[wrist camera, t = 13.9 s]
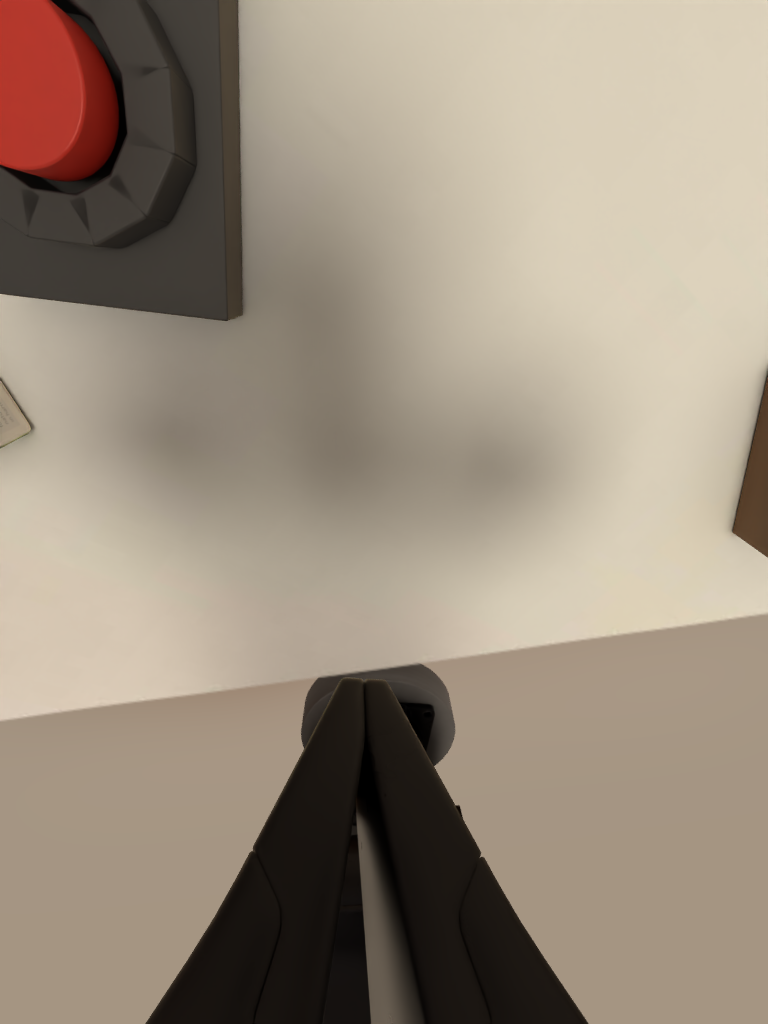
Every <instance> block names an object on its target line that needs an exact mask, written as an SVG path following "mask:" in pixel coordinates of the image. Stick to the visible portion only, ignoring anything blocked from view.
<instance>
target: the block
mask: <svg viewBox="0 0 768 1024" xmlns="http://www.w3.org/2000/svg"><path fill="white" fill-rule="evenodd" d="M51 1H52V2H53V3H55V4H56V5H57V6H58V7H59V8H60V9H61V10H63V11H64V12H65V13H66V14H67V15H68V16H70V17H71V18H72V19H73V20H74V21H75V22H76V23H77V24H78V25H79V26H80V27H81V28H82V29H83V30H84V31H85V32H86V34H87V35H88V36H89V37H90V38H91V40H92V41H93V43H94V44H95V45H96V47H97V48H98V50H99V52H100V54H101V55H102V57H103V59H104V61H105V63H106V65H107V67H108V69H109V72H110V74H111V77H112V80H113V83H114V86H115V90H116V94H117V100H118V106H119V129H118V135H117V140H116V143H115V146H114V149H113V151H112V153H111V155H110V157H109V158H108V160H107V161H106V163H105V164H104V165H103V166H102V167H101V168H100V169H99V170H98V171H97V172H95V173H94V174H92V175H91V176H89V177H86V178H84V179H81V180H77V181H69V182H64V181H55V180H50V179H46V178H43V177H39V176H36V175H32V174H29V173H25V172H22V171H18V170H15V169H12V168H8V167H5V166H2V165H0V294H5V295H13V296H22V297H30V298H38V299H47V300H55V301H63V302H72V303H80V304H88V305H97V306H105V307H113V308H122V309H130V310H138V311H147V312H155V313H163V314H172V315H180V316H188V317H197V318H205V319H213V320H222V321H228V320H231V319H234V318H236V317H239V316H242V252H241V187H240V123H239V58H238V0H51Z"/></svg>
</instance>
